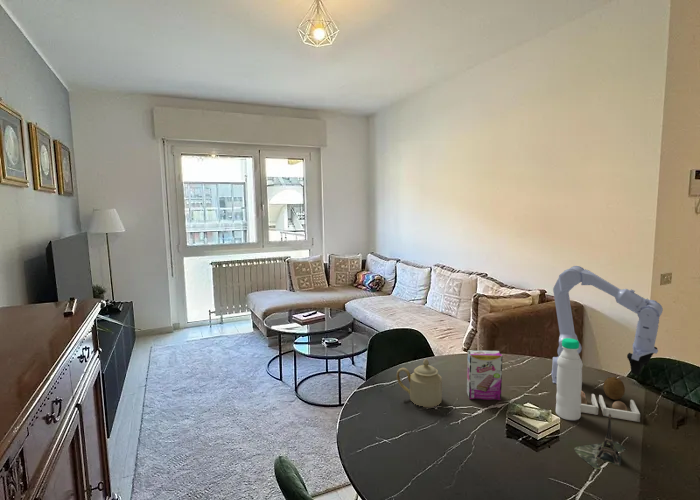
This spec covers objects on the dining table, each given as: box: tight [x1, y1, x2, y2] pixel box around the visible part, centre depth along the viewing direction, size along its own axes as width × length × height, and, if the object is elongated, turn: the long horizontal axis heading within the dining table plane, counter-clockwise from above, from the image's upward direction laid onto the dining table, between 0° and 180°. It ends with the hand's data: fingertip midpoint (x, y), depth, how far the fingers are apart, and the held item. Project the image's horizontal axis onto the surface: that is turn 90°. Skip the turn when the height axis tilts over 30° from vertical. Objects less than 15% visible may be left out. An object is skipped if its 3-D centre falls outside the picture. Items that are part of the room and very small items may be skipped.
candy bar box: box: [466, 349, 503, 401], centre depth 141 cm, size 11×5×16 cm, turn 84°
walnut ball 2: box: [611, 400, 628, 411], centre depth 128 cm, size 4×4×4 cm
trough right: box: [598, 394, 641, 423], centre depth 129 cm, size 10×10×2 cm
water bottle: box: [555, 338, 584, 421], centre depth 127 cm, size 7×7×25 cm
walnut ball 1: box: [581, 396, 588, 405], centre depth 133 cm, size 4×4×4 cm
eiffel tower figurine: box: [573, 414, 626, 470], centre depth 107 cm, size 15×10×13 cm
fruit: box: [602, 376, 626, 401], centre depth 137 cm, size 6×6×8 cm
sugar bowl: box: [396, 358, 443, 408], centre depth 139 cm, size 15×11×15 cm
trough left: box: [580, 393, 599, 416], centre depth 134 cm, size 10×10×2 cm
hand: (639, 368), depth 141 cm, fingers open, 7 cm apart
